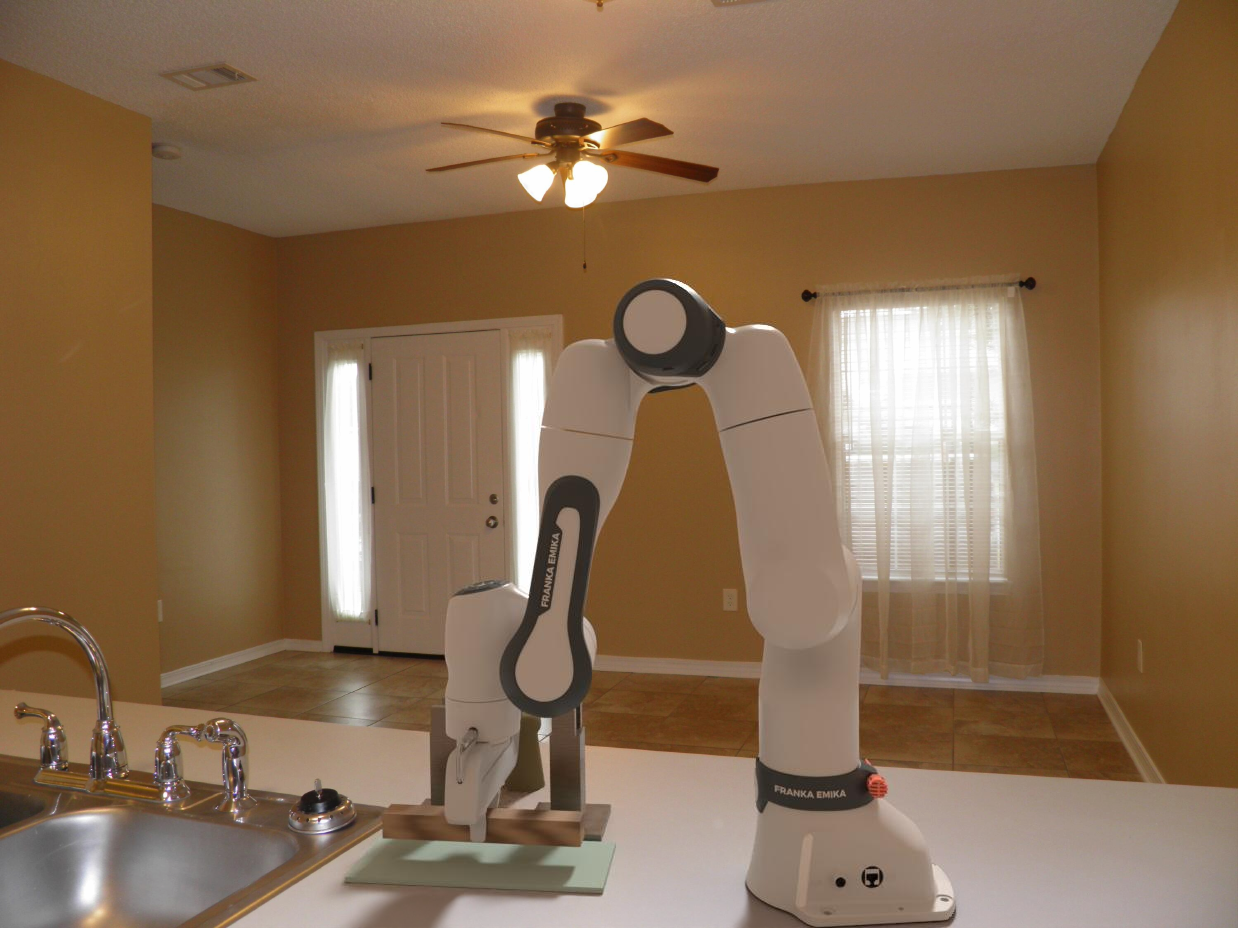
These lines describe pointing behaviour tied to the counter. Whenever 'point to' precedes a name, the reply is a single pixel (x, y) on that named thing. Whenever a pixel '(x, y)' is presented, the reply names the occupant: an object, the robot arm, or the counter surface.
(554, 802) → the cradle posts
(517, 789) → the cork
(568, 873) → the green mat
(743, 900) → the counter surface
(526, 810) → the walnut rail
